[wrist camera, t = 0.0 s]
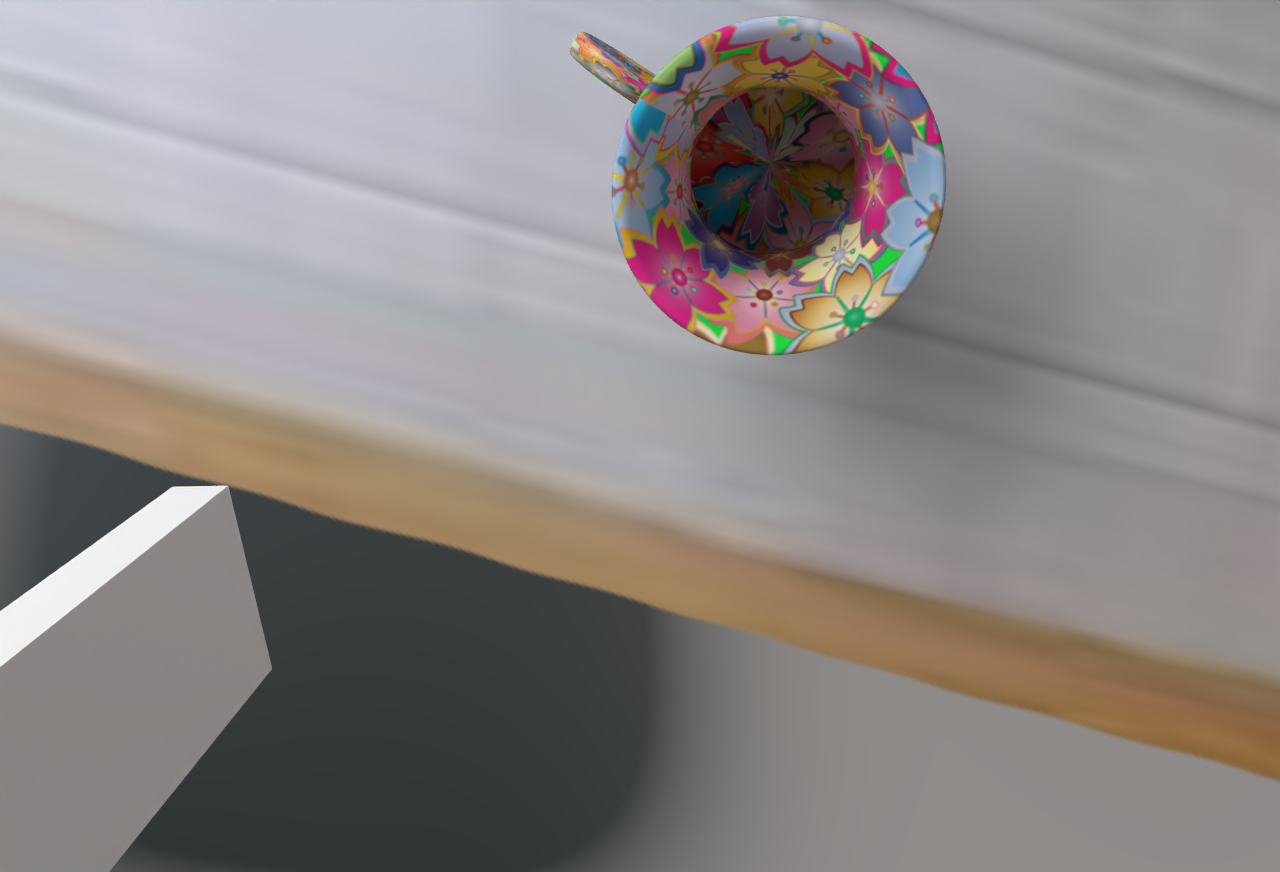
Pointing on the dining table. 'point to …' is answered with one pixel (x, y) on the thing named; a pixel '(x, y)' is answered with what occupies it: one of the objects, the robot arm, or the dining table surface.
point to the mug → (773, 181)
